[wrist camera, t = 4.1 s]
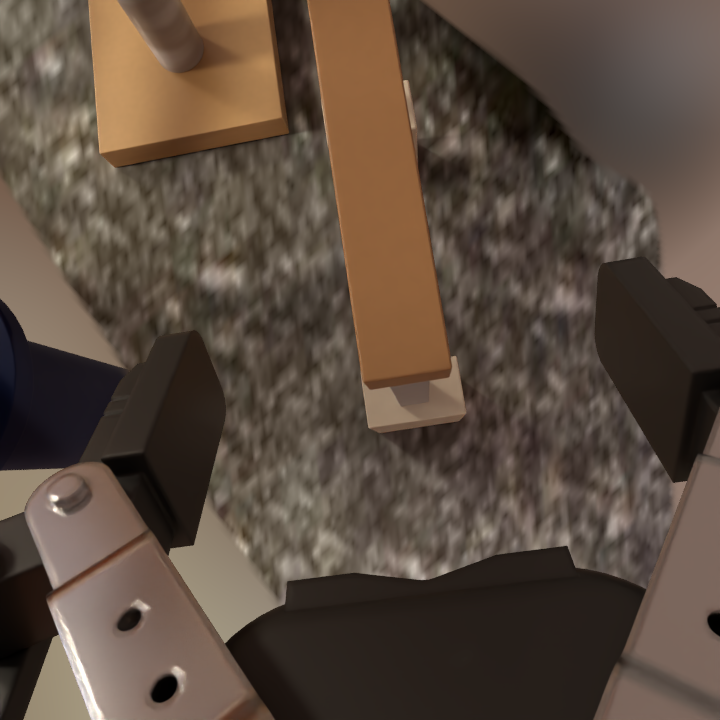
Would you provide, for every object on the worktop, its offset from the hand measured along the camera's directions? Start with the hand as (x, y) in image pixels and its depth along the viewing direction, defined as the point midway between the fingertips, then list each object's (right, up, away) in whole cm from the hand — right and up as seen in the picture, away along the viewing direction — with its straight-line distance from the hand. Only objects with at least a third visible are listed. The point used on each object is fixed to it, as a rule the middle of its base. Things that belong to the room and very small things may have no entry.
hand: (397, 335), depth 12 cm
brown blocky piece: (+1, +3, +18) cm, 19 cm away
